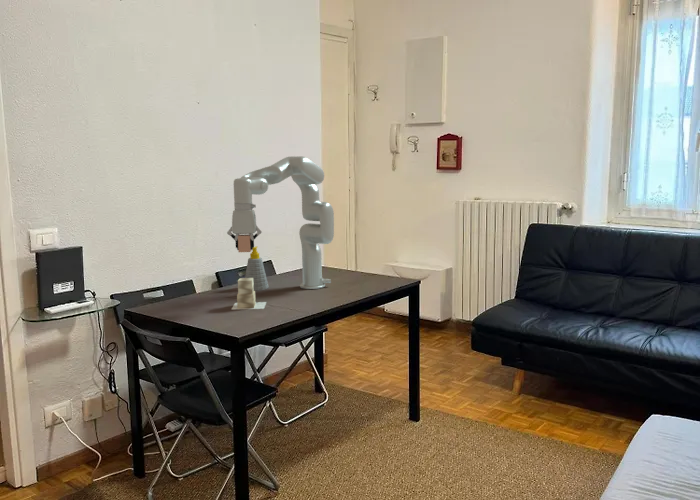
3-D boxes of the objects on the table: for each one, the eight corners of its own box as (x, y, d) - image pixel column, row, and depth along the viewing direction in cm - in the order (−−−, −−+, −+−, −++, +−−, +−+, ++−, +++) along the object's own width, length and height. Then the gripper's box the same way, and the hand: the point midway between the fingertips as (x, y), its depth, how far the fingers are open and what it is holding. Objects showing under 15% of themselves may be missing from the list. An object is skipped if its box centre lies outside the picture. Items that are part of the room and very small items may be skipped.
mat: (266, 302, 287) (266, 302, 287) (264, 309, 275) (264, 308, 275) (235, 303, 287) (235, 302, 287) (231, 310, 275) (231, 309, 275)
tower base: (255, 304, 284) (255, 290, 283) (253, 308, 277) (253, 294, 276) (239, 304, 283) (239, 291, 282) (237, 308, 276) (237, 294, 275)
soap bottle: (271, 285, 324) (269, 245, 321) (265, 290, 312) (263, 249, 309) (247, 285, 325) (245, 245, 322) (240, 290, 313) (238, 249, 310)
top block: (251, 250, 279) (250, 234, 278) (250, 252, 274) (249, 235, 273) (240, 250, 279) (239, 234, 278) (238, 252, 274) (237, 236, 273)
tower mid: (253, 291, 282) (253, 277, 281) (252, 294, 276) (251, 280, 275) (240, 291, 282) (239, 278, 281) (238, 294, 276) (237, 280, 275)
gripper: (264, 206, 277) (265, 247, 280) (224, 206, 277) (226, 248, 280) (262, 207, 270) (264, 250, 273) (221, 208, 269) (223, 251, 272)
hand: (245, 249), depth 276 cm, fingers closed on top block, 5 cm apart
